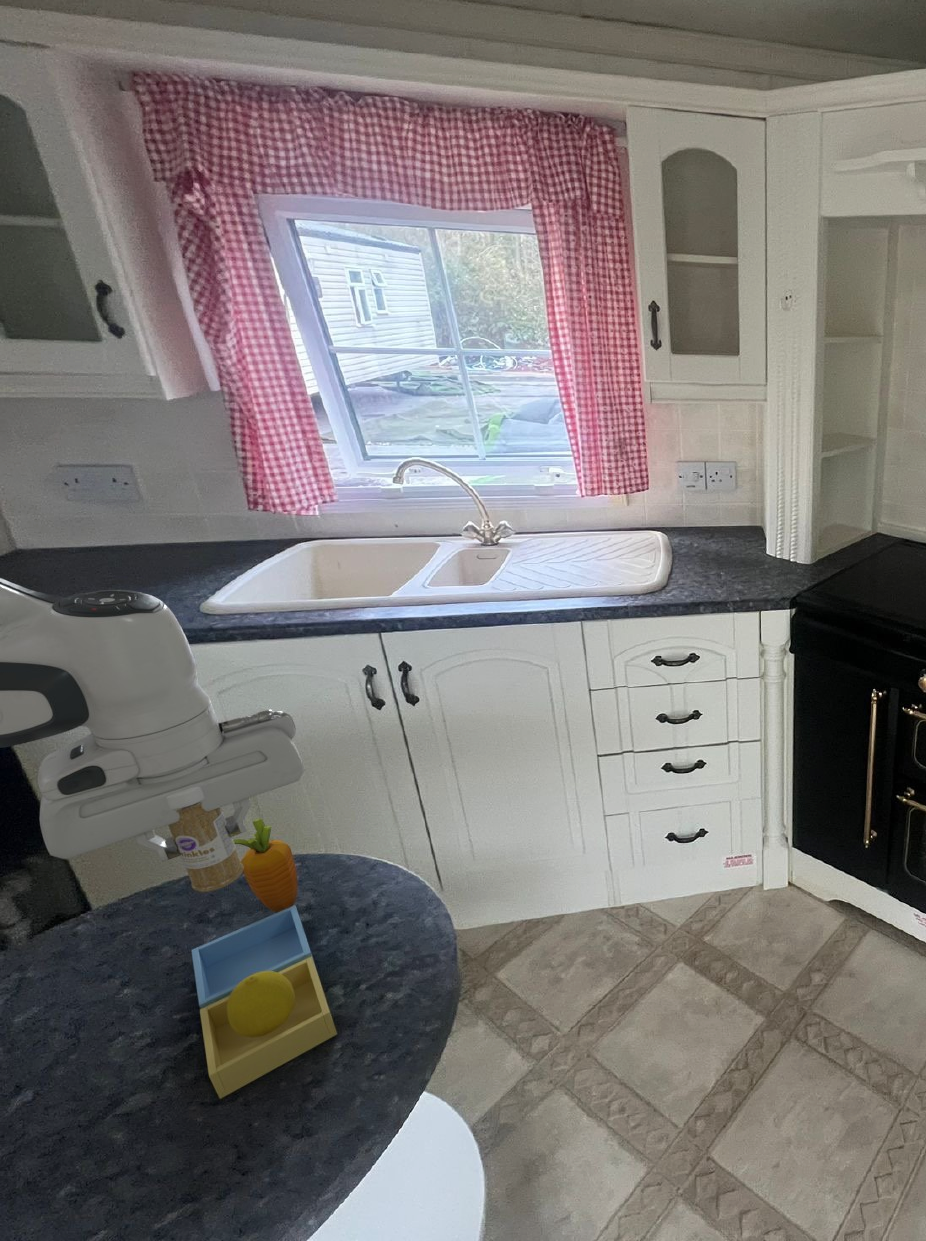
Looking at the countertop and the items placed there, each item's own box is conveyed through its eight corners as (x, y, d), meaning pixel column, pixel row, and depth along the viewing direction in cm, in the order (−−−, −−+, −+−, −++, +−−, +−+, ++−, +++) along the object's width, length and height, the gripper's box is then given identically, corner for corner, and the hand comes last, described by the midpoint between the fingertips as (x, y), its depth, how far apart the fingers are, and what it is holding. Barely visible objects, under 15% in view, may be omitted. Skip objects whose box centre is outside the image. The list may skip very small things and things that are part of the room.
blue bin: (209, 1027, 78) (198, 1005, 77) (200, 971, 84) (191, 949, 83) (317, 973, 85) (310, 952, 83) (302, 925, 91) (295, 904, 90)
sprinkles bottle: (185, 898, 76) (142, 799, 71) (203, 869, 80) (163, 774, 75) (237, 887, 78) (198, 789, 73) (252, 859, 82) (216, 765, 77)
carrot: (290, 931, 90) (258, 840, 84) (253, 929, 90) (217, 838, 84) (319, 901, 95) (289, 813, 89) (283, 899, 95) (251, 811, 89)
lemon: (233, 1061, 74) (209, 1009, 71) (247, 1018, 78) (225, 967, 75) (297, 1040, 76) (277, 988, 73) (307, 998, 81) (289, 948, 78)
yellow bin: (219, 1099, 71) (208, 1076, 70) (209, 1031, 77) (199, 1009, 76) (337, 1034, 78) (329, 1012, 76) (319, 977, 84) (311, 955, 83)
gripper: (283, 694, 81) (314, 790, 86) (18, 765, 67) (73, 874, 72) (293, 715, 77) (324, 815, 82) (13, 795, 63) (72, 909, 68)
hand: (205, 843), depth 77 cm, fingers closed on sprinkles bottle, 4 cm apart
